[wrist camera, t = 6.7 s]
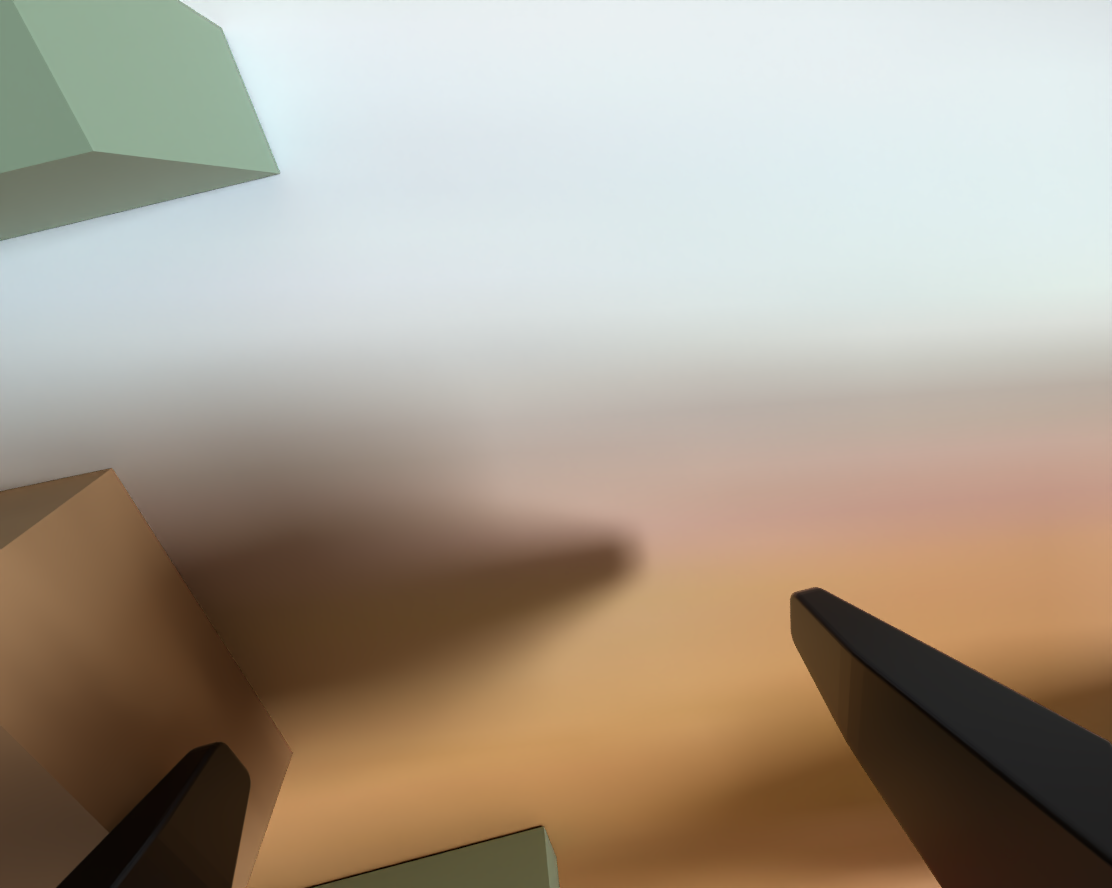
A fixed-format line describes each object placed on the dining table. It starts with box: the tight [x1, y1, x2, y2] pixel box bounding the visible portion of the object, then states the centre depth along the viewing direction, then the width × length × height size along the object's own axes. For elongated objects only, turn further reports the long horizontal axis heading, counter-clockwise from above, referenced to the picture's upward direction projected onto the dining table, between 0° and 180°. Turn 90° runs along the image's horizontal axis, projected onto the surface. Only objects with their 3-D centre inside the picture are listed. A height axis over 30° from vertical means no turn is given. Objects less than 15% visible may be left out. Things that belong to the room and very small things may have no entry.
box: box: [0, 0, 560, 888], centre depth 8 cm, size 18×14×4 cm
